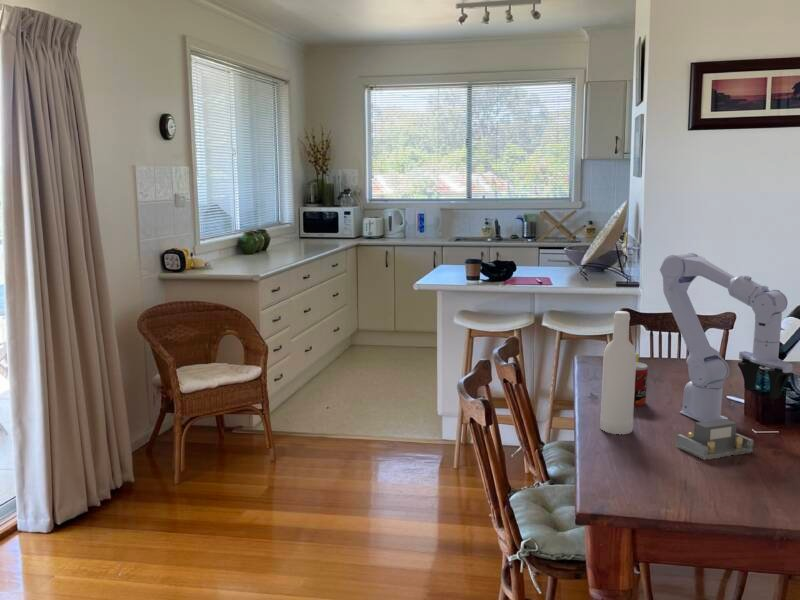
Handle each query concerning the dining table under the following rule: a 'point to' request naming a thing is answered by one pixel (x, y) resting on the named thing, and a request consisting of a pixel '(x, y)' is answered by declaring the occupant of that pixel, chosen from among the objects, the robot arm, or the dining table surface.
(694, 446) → the pin tray
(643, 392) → the canned food
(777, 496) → the dining table surface
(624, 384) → the bottle
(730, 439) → the block
